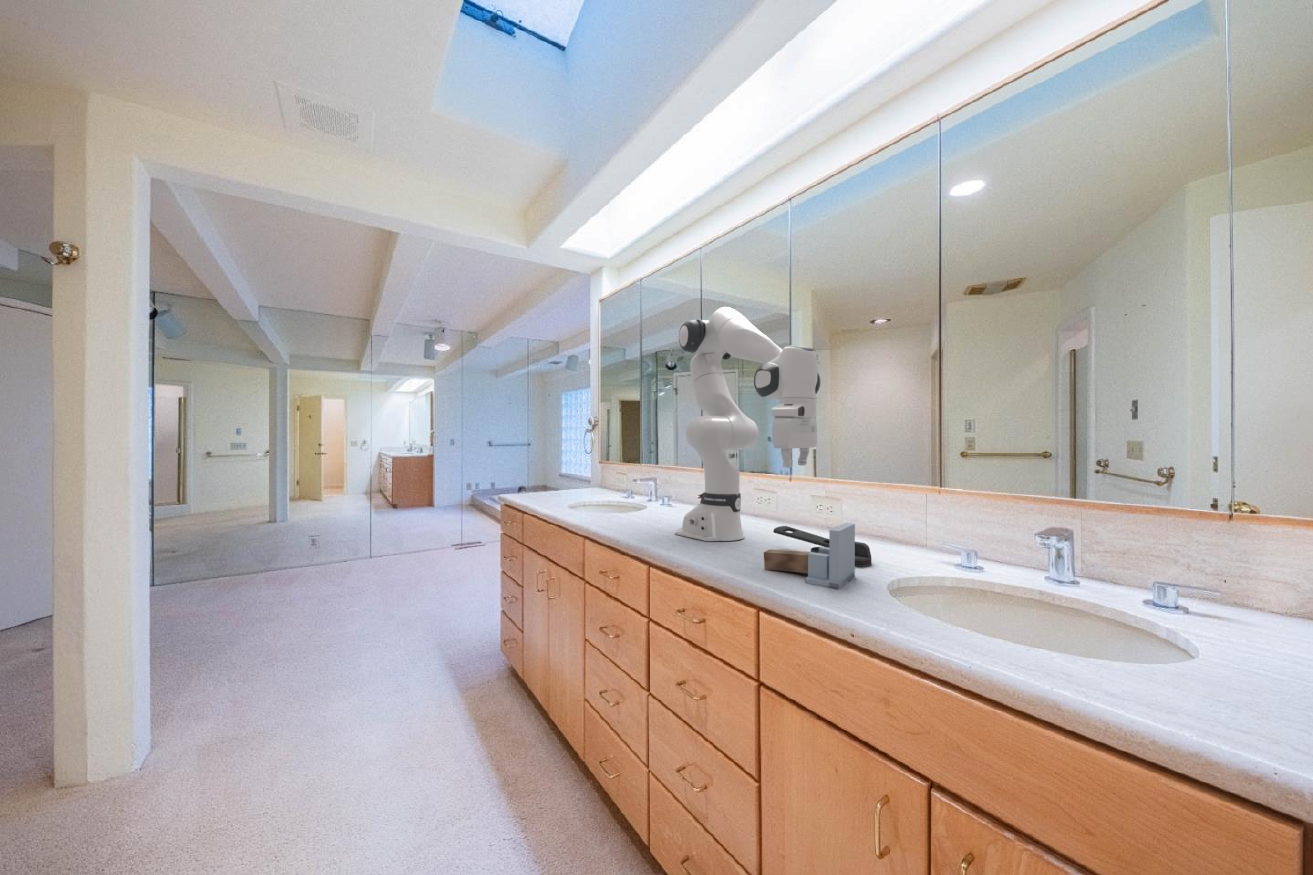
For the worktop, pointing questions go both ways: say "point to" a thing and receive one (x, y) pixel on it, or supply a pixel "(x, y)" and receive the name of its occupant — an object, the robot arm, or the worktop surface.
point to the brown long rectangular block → (786, 560)
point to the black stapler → (827, 544)
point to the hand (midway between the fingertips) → (795, 466)
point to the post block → (834, 559)
